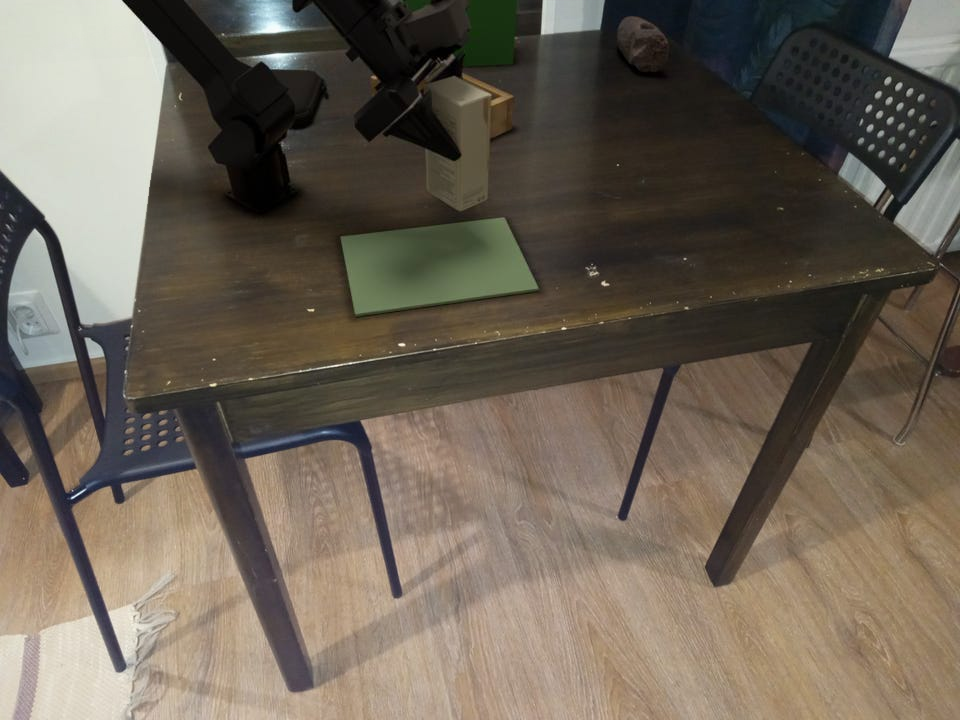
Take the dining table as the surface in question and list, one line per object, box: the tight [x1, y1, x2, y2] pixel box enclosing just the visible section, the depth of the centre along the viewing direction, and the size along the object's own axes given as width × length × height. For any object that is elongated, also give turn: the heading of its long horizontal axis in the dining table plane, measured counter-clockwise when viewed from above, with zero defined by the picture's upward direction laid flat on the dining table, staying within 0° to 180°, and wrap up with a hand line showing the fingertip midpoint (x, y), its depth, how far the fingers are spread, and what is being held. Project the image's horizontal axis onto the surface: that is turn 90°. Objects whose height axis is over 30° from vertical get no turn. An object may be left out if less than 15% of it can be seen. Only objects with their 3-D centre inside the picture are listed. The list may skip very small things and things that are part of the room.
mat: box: [340, 216, 540, 318], centre depth 79 cm, size 20×14×1 cm
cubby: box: [369, 72, 515, 140], centre depth 102 cm, size 11×18×5 cm, turn 45°
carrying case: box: [270, 68, 328, 126], centre depth 104 cm, size 11×3×15 cm
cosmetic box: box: [423, 76, 491, 212], centre depth 75 cm, size 6×4×12 cm
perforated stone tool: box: [616, 15, 670, 73], centre depth 118 cm, size 15×5×7 cm, turn 12°
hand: (468, 143), depth 74 cm, fingers closed on cosmetic box, 6 cm apart
